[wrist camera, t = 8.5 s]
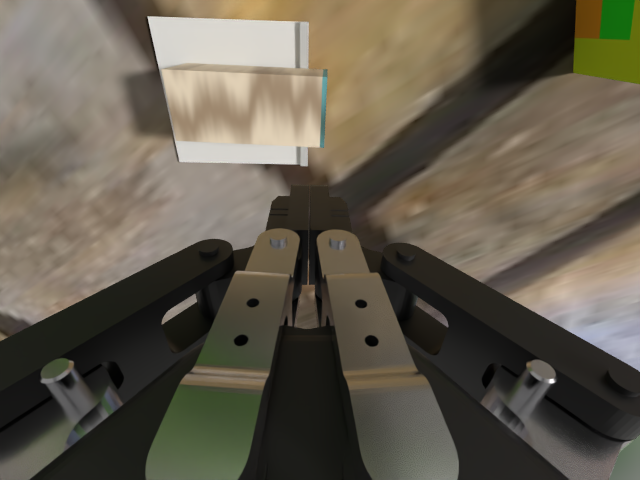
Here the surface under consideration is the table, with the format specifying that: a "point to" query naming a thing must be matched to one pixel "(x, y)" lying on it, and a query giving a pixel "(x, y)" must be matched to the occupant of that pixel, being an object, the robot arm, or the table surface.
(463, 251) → the table surface
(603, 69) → the puzzle toy
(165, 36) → the mat
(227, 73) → the maple block
